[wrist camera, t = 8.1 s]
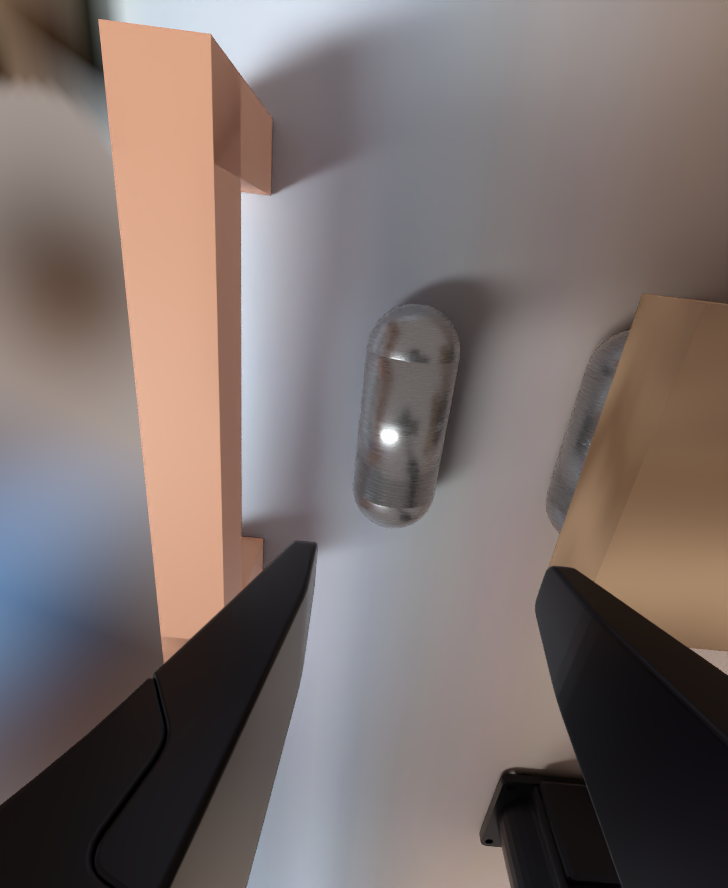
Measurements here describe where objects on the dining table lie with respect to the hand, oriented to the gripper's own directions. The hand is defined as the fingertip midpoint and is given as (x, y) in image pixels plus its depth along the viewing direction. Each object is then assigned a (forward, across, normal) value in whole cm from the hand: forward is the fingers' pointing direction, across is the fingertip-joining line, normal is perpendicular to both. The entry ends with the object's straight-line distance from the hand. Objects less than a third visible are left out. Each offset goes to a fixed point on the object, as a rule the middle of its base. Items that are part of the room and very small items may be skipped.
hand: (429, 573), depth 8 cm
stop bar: (+10, +6, 0) cm, 11 cm away
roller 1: (+10, 0, 0) cm, 10 cm away
